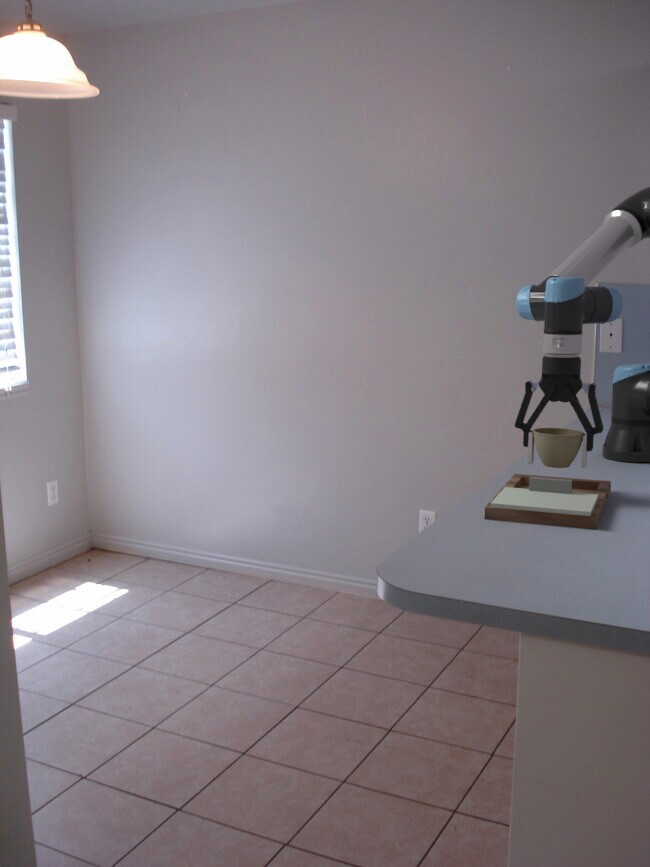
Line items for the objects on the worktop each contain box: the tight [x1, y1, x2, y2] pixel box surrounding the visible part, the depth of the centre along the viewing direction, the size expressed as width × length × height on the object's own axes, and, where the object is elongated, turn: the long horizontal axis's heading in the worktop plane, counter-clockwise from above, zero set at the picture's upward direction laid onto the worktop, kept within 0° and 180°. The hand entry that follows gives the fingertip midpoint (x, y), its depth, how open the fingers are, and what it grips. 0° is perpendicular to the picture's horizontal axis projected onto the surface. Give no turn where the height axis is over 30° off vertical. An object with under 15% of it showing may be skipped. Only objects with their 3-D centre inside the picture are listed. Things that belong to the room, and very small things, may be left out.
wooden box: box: [484, 473, 612, 530], centre depth 187 cm, size 31×20×2 cm, turn 159°
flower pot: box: [532, 427, 585, 469], centre depth 192 cm, size 10×10×7 cm
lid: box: [491, 477, 598, 516], centre depth 179 cm, size 14×18×3 cm
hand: (556, 464), depth 192 cm, fingers closed on flower pot, 10 cm apart
